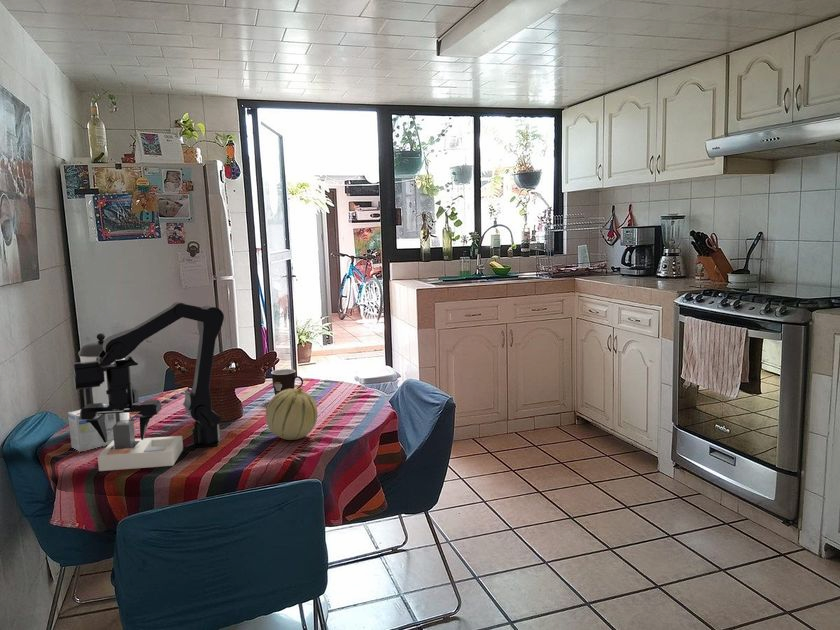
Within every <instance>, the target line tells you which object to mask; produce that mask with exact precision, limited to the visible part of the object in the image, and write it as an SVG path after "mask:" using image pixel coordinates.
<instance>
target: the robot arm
mask: <svg viewBox="0 0 840 630" xmlns="http://www.w3.org/2000/svg"><path fill="white" fill-rule="evenodd" d="M224 316H225V314H224V313H223V311H222V310H221V309H220V308H218V307H215V306H212V305H210V304H209V305H208V304H207V305H203V306H198V305H197V306H196V305H191V304H186V303H184V302H181V301H176V302H174V303H172V304H171V305H170V306H169V307H167V308H165V309H162V311H160V312H158V313H157V314H155V315H153V316H151V317H149V318H148V319H147V320H145V321H143V322H141V323H140V324H138V325H136V326H135V327H133V328H130V329H127V330H123V331H120V332H117V333H114V334H112V335H109V336H107V337H105V338H104V343H103V350H102V351H101V353H100V354H99V355H98V357H97V358H96V361H92V362H83V363H82V362H81V361H79V362H73V374H72V379H73V385H74V390H83V389H85V388H92V387H99V386H100V384H102V382H104V370H103V369H106V377H107V388H108V390H106V394H108V399H109V405H108V407H104V406H103V404H102V403H95V404H88V405H86V406H85V405H84V407H82V408H81V409H80V410H81V411H80V419H81V420H86V419H87V420H86V422H89V423H91V424H92V426H93V427H94V428H95V429H96V430H97V432H98V433H99V435H100V436H101V438H102V439H103V441H104V442H107V432H106V426H105V414H111V413H128V412H129V413H140V414H141V415H140V416H139V433H140V435H139V436H140V439H141V440H143V439H144V438H145V436H146V432H147V429H148V425H149V422H150V420H151V419H152V418H153V417H154V416H156V415H158V414H159V413H160V412H161V411H162V402H161V401H160V400H159V399H151V400H150V399H148V400H144V401H143V402H142V403H141V404H138V403H139V400H140V399H139V398H140V397H139V395H140V394H139V393H140V392H139V391H140V390H137V389H134V385H133V384H132V375H131V367H134V366H138V365H139V362H138V361H136V360H135V359H133V357H132V356H131V355H130V354H131V353H132V352H134V351H135V350H136V349H137V348H138V346H140V344H141V343H143V342H144V341H145V340H147V339H148V338H150V337H151V336H153V335H155V334H157V333H159V332H161V331H162V330H164V329H165V328H167V327H169V326H170V325H172V324H174V323H175V322H177V321H178V320H180V319H181V318H182V319H183V318H184V319H189V320H192V321H193V320H194V321H195V322H196V321H197V323H196V324H197V330H198V335H199V336H198V337H199V339H198V345H197V346H198V347H197V355H196V362H195V368H194V369H195V370H194V377H193V384H192V387H191V389H190V391H184V401H183V403H182V406H183V407H184V408H185V412H186V413H187V414H188V415H189V416H190V417H191V418H192V419H193V420H194V421H195V422H194V424H193V425H194V426H193V429H192V440H193V441H192V443H193V444H194V445H193V447H194V448H202V447H203V448H204V447H216V446H218V445H219V444H220V442H221V440H222V436H221V433H220V432H221V431H220V421H221V416H220V415H219V414H218V413H216V412H215V411H214V410H212V409H213V407H212V406H213V405H212V397H211V390H210V385H211V378H212V372H213V371H212V370H213V361H214V355H215V347H216V346H215V345H216V339H217V337H218V336H219V333H220V332H221V329H222V327H223V323H224V321H225V320H224V319H225V317H224ZM123 358H125V359H124V360H121V359H123ZM115 360H116V361H115ZM113 362H114V364H111V363H113ZM114 409H119V410H114Z"/></svg>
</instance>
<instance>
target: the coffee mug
mask: <svg viewBox="0 0 840 630" xmlns="http://www.w3.org/2000/svg"><path fill="white" fill-rule="evenodd" d="M296 372H297V371H296V369H291V368H289V369H288V368H284V369H283V368H282V369H276V370H272V371H271V372H270V374H271V380H272V387H273V392H274V396H275V395H276V394H277V393H279V392H281V391H283V390H285V389H295V384H296V379H300V381H301V382H300V383H301V384H300V385H299V386H298V387H297V388H296V389H300V388H302V387H303V385H304V379H303V378H302V377H301V376H298V375H297V376H296Z"/></svg>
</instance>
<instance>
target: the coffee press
mask: <svg viewBox="0 0 840 630" xmlns="http://www.w3.org/2000/svg"><path fill="white" fill-rule="evenodd" d="M96 339H97V340H96V341H95V340H94V341H90V342H87V343H85V344H83V345H81V347H80V350H79V351H78V356H79V359H80V362H82V363H83V362H92V361H96V358H97V357H98V355H99V354H100V353H101V351H102V350H103V343H104V340H105V339H106V336H105V334H104V333H102V332H100V333H98V334H97V335H96ZM124 359H126V357H125V358H123V359H121V360H124ZM115 361H116V360H115ZM111 364H114V362H113V363H111ZM103 370H104V382H102V384H100V386H99V387H92V388H85V389H82V391H83V399H84V400H83V401H84V407H85V406H86V405H88V404H95V403H102V404H107V405H109V399H108V394H106V390H108V388H107V377H106V369H103ZM115 410H119V409H115ZM115 416H116V423H117V422H119V421H120V420H129V421H133V422H134V419H133V417H131V415H130V412H128V413H115Z"/></svg>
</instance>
